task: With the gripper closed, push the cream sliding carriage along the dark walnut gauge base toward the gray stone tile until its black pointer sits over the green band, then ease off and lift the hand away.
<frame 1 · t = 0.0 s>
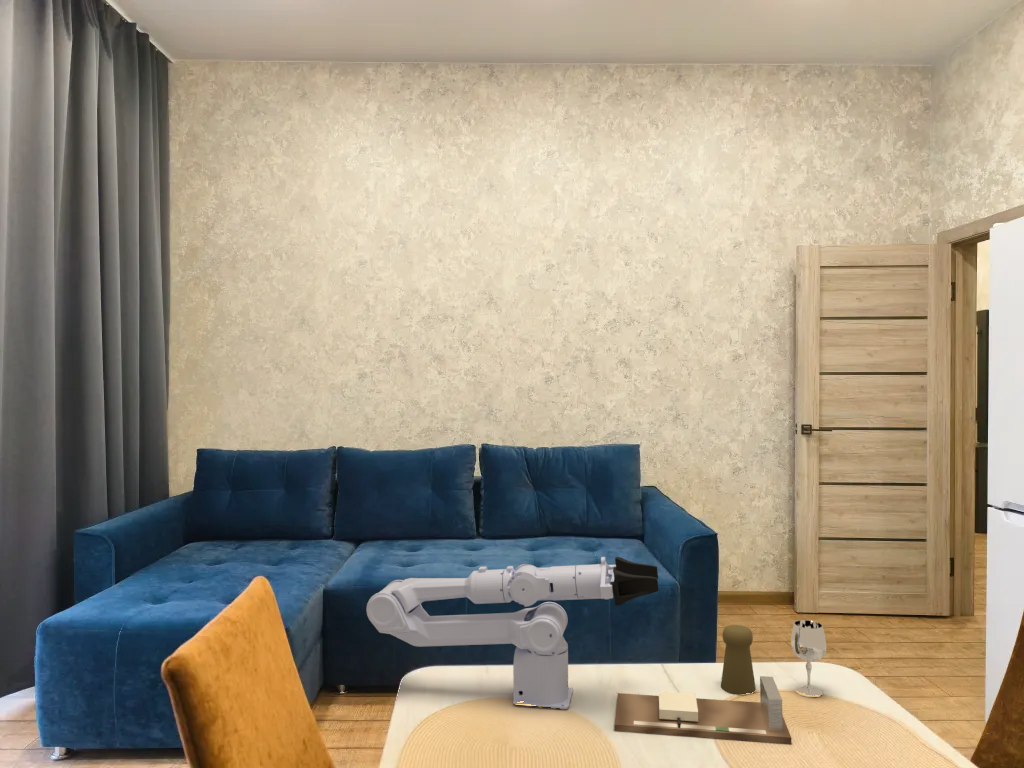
hand: (657, 578, 124), 22 cm above the table, tool horizontal, fingers open, 7 cm apart
carriage: (678, 708, 119), point 2 cm above the table, slide at 0.0 cm
cork: (738, 689, 132), on the table
gauge base: (690, 719, 120), on the table
wineglass: (809, 693, 129), on the table
gray stone tile: (771, 725, 117), resting on gauge base
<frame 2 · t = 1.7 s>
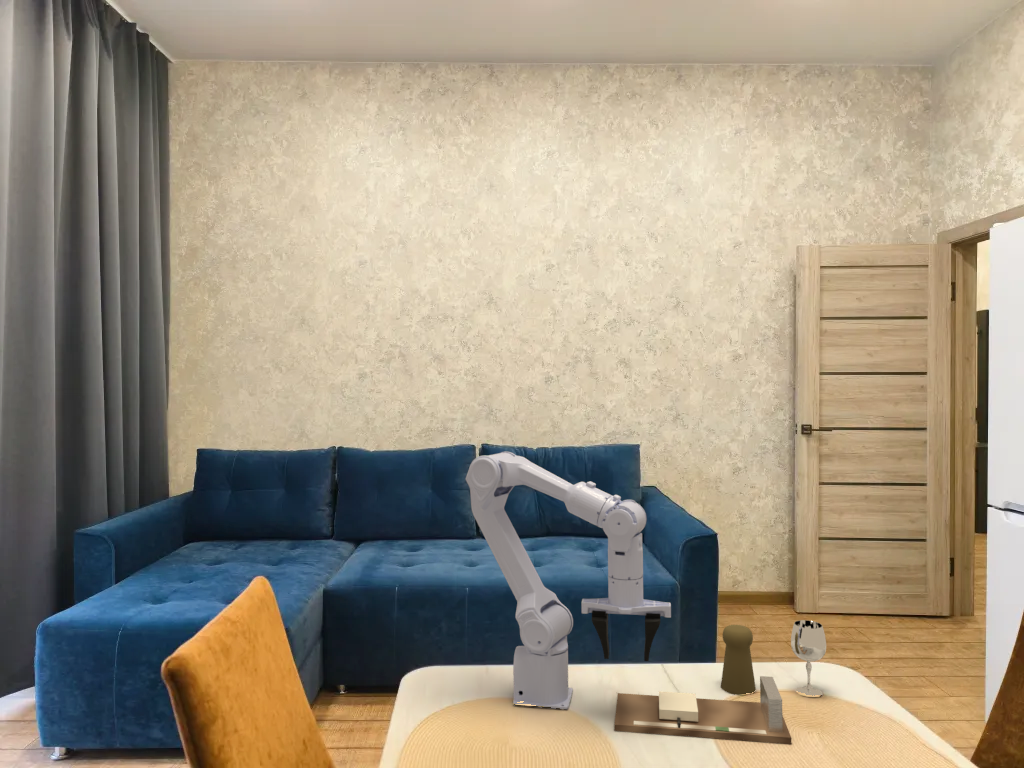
hand: (626, 657, 122), 9 cm above the table, tool pointing down, fingers open, 6 cm apart
nothing on the table moved.
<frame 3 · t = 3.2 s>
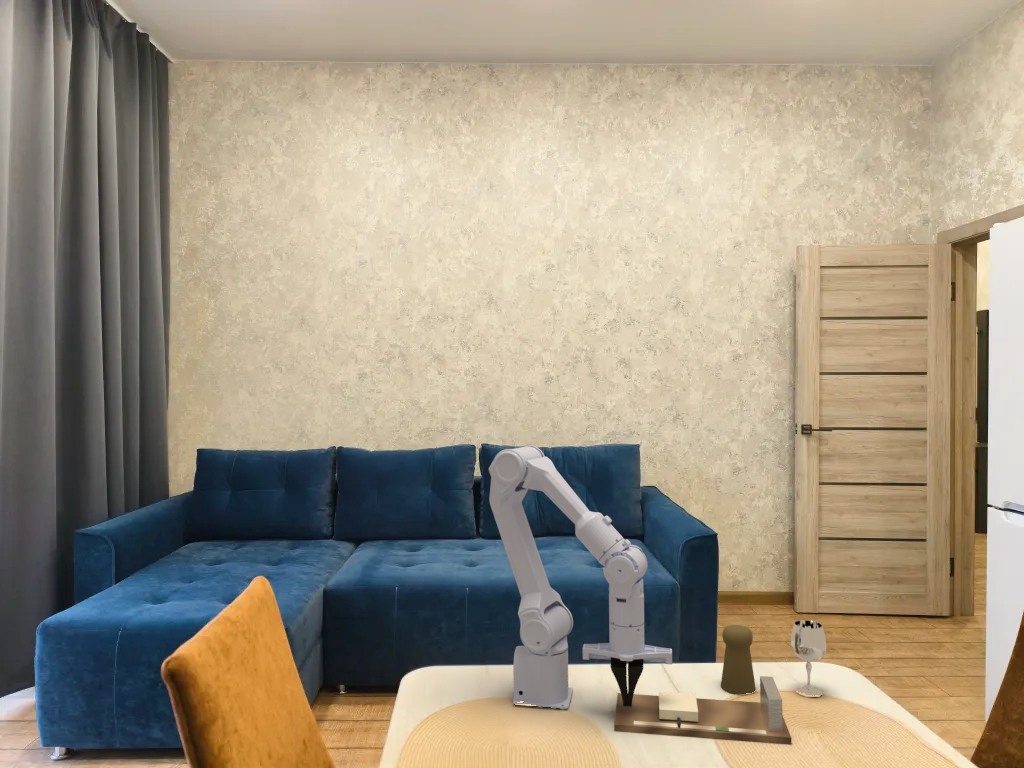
hand: (627, 703, 121), 2 cm above the table, tool pointing down, fingers closed
nothing on the table moved.
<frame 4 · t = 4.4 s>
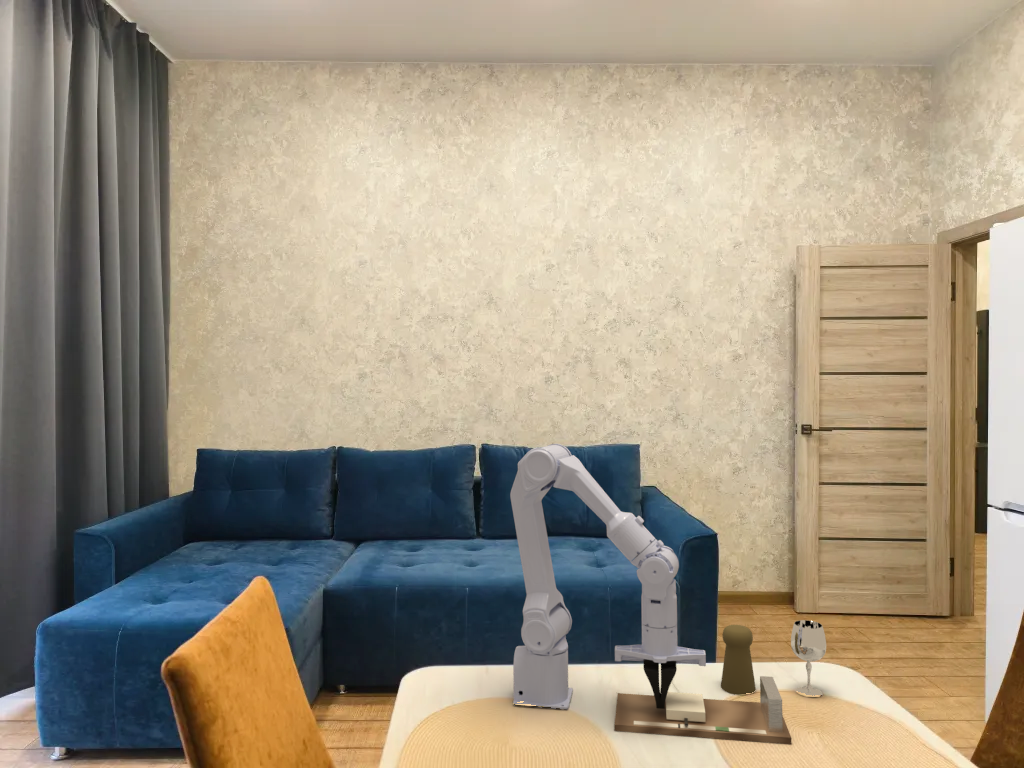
hand: (660, 706, 120), 2 cm above the table, tool pointing down, fingers closed
carriage: (685, 709, 119), point 2 cm above the table, slide at 1.1 cm, touching gripper
everything else where it was.
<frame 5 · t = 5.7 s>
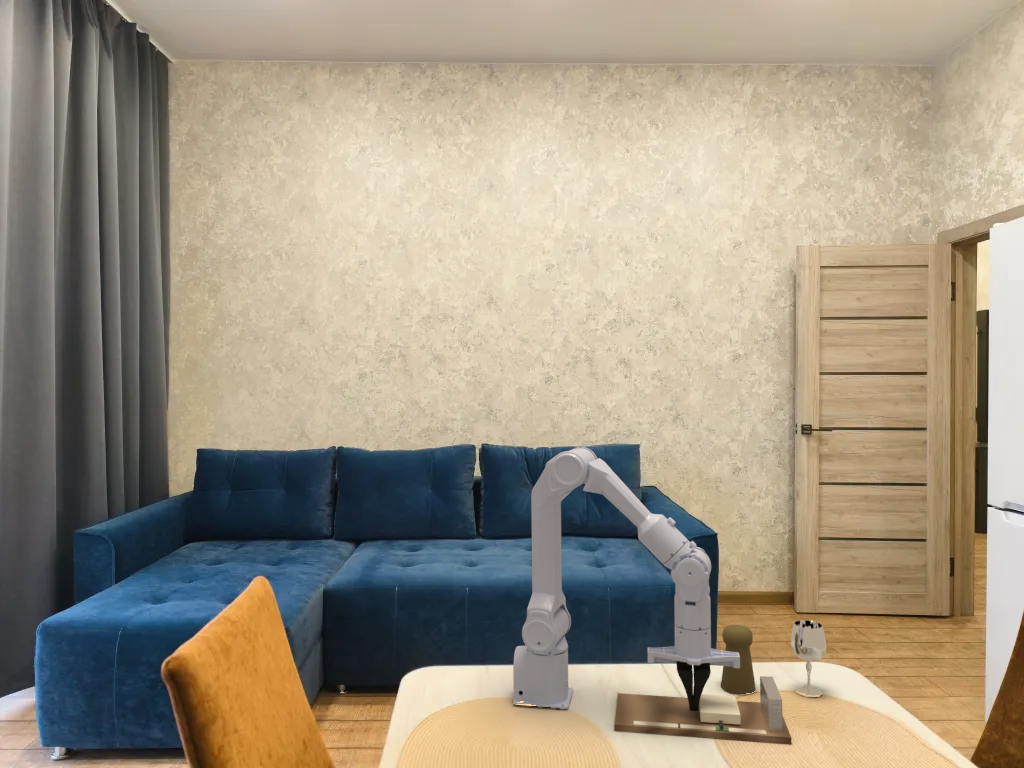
hand: (693, 708, 120), 2 cm above the table, tool pointing down, fingers closed
carriage: (719, 711, 118), point 2 cm above the table, slide at 6.4 cm, touching gripper
everything else where it was.
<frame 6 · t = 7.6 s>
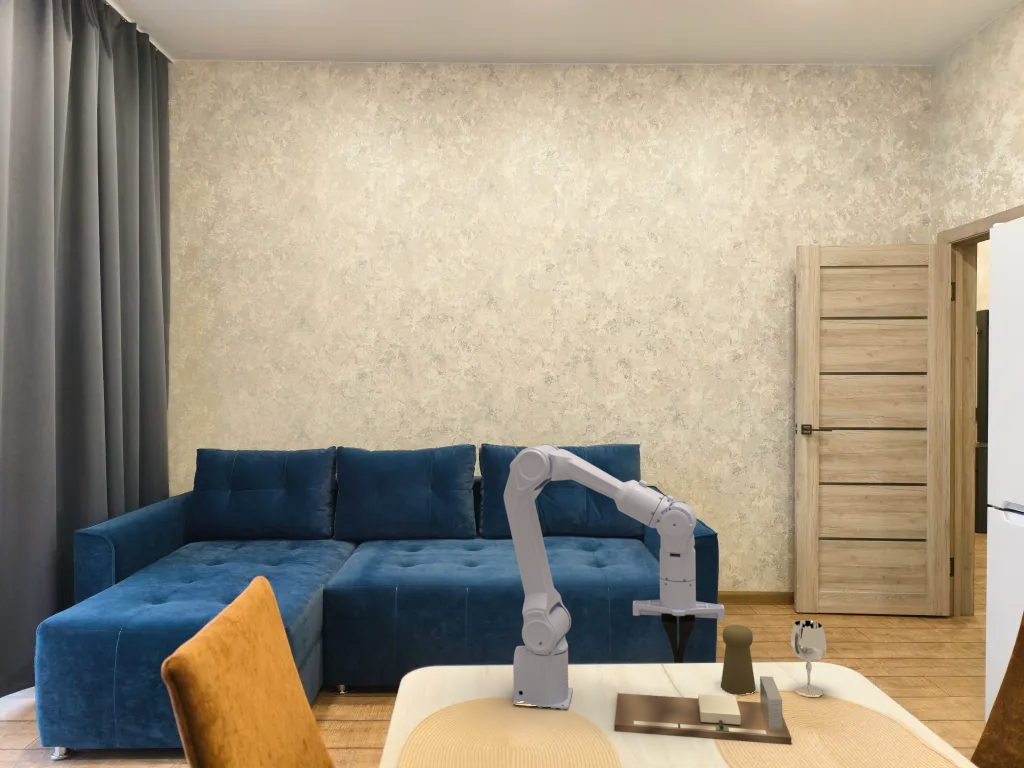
hand: (678, 660, 120), 9 cm above the table, tool pointing down, fingers closed
carriage: (719, 711, 118), point 2 cm above the table, slide at 6.4 cm
everything else where it was.
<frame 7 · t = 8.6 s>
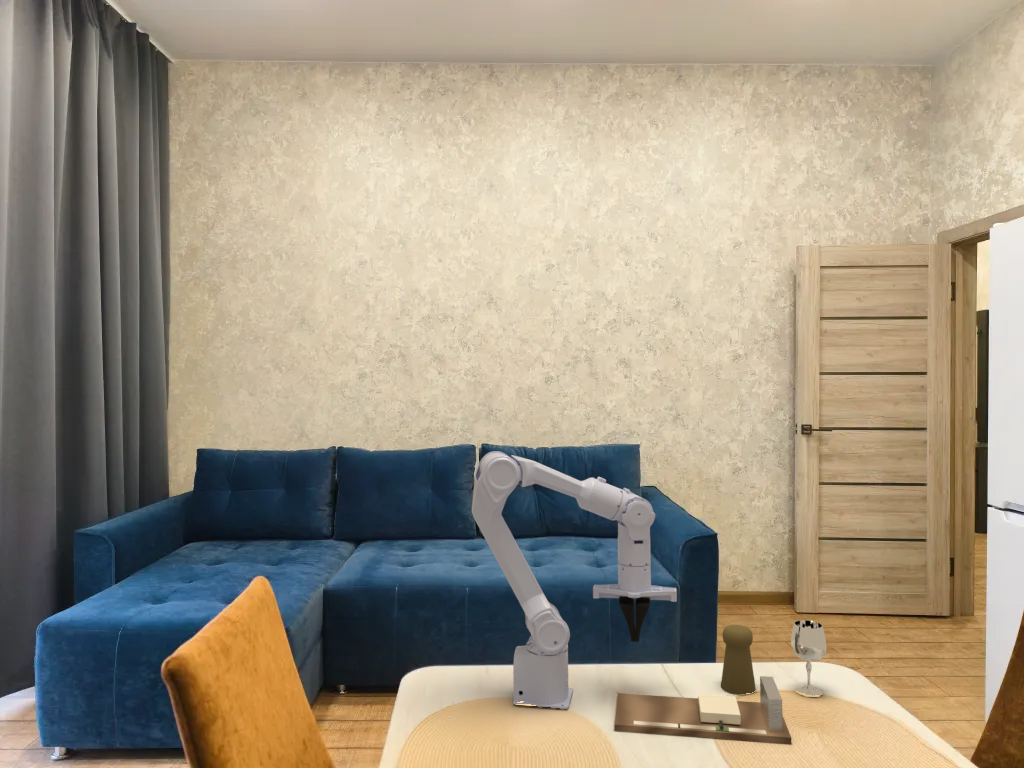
hand: (635, 639, 130), 9 cm above the table, tool pointing down, fingers closed
nothing on the table moved.
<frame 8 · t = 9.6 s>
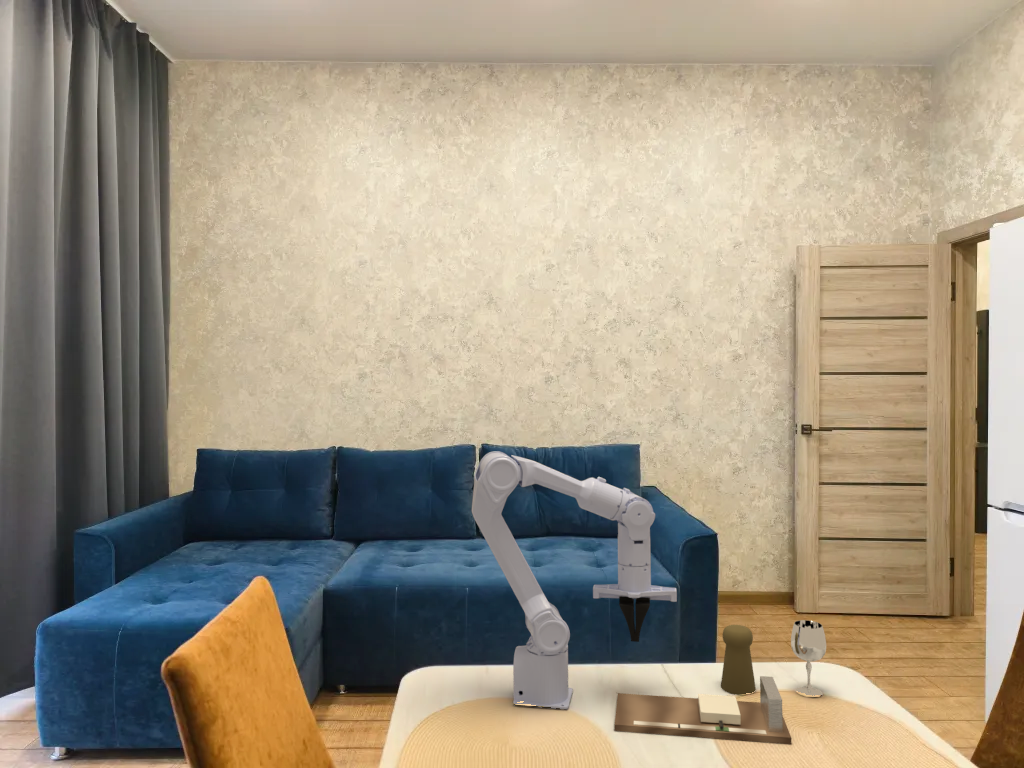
hand: (635, 639, 130), 9 cm above the table, tool pointing down, fingers closed
nothing on the table moved.
at the end: carriage slide at 6.4 cm; cork moved 0.2 cm from its start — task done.
